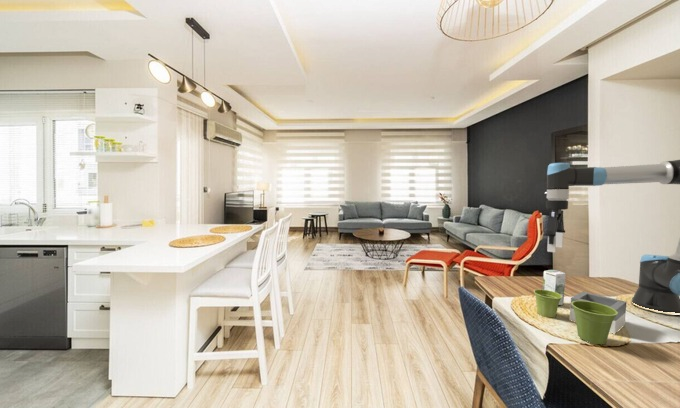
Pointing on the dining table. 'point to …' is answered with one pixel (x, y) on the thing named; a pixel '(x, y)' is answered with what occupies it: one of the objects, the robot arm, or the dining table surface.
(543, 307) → the plant pot
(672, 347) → the dining table surface
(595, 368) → the dining table surface
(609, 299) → the socket block
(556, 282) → the syrup box
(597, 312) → the plant pot
